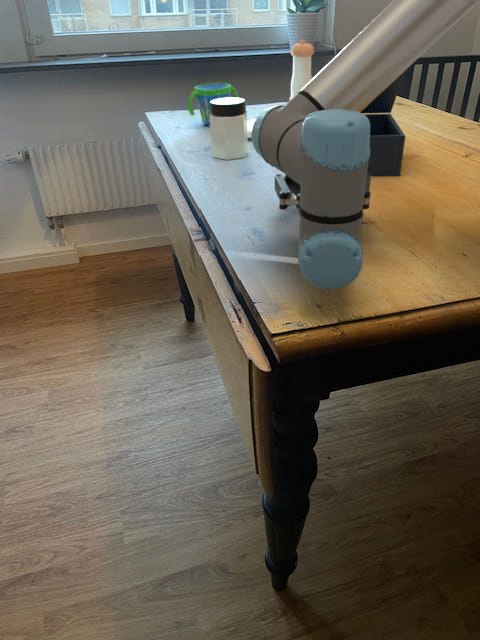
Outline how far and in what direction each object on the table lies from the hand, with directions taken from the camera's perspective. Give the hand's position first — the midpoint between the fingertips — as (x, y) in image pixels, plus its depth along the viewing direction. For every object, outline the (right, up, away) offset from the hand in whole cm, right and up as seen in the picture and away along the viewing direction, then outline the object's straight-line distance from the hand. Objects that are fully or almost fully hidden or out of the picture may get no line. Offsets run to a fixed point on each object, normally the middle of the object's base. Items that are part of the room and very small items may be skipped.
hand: (320, 167), depth 89 cm
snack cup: (-22, +30, +58) cm, 69 cm away
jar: (-17, +12, +30) cm, 37 cm away
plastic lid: (-9, +22, +45) cm, 51 cm away
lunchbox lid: (+13, +21, +15) cm, 29 cm away
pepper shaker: (+5, +39, +69) cm, 79 cm away
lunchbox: (+13, +8, +21) cm, 26 cm away
